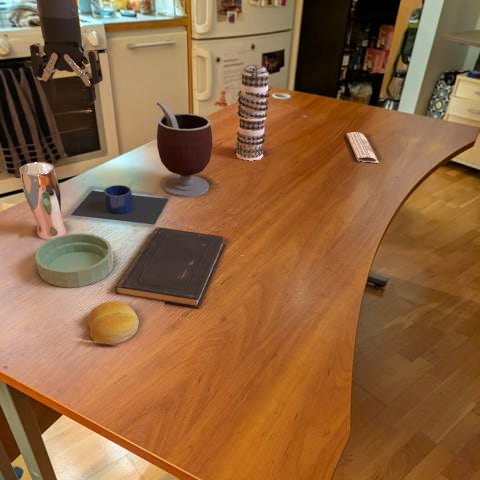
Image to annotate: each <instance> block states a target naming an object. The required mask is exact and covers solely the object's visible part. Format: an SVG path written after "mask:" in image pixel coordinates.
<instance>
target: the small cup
mask: <svg viewBox="0 0 480 480" xmlns="http://www.w3.org/2000/svg"><path fill="white" fill-rule="evenodd" d="M103 192H104V196H105V202H106V208H107V211H108V212H110V213H112V214H125V213H128V212H130V211H132V209H133V201H132V195H133V192H132V189H131V187H130V186H127V185H123V184H113V185H109V186H107V187H105V189H104V190H103Z"/></svg>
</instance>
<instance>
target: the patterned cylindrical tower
mask: <svg viewBox="0 0 480 480" xmlns="http://www.w3.org/2000/svg"><path fill="white" fill-rule="evenodd" d="M240 73H241V83H240V86H239V87H240V90H239V91H238V94H237V96H238V98H237V102H238V106H237V117H238V118H239V121H238V123H239V125H238V129H237V130H238V131H237V132H236V135H237V137H236V141H237V142H236V144H235V146H236V148H235V151H236V153H235V156H236V155H237V156H236V158H238V159H240V160H242V159H243V161H247V160H249V161H248V162H254V161H253V160H257V161H260V160H262V159H263V158H262V157H264V151H265V150H264V149H265V145H264V143H265V140H266V139H265V136H266V133H265V130H266V129H265V128H266V127H265V121H266V119H267V116H268V114H267V113H266V111H268V110H269V107H268V106H267V105H269V100H267V99H268V98H269V97H270V96H271V95H270V93H269V92H270V91H271V89H270V88H269V76H270V72H269V71H268V70H267V68H266V67H265V66H264V65H260V64H248V65H246V66H245V67H244V68H243V70H241V71H240ZM261 158H262V159H261Z"/></svg>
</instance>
